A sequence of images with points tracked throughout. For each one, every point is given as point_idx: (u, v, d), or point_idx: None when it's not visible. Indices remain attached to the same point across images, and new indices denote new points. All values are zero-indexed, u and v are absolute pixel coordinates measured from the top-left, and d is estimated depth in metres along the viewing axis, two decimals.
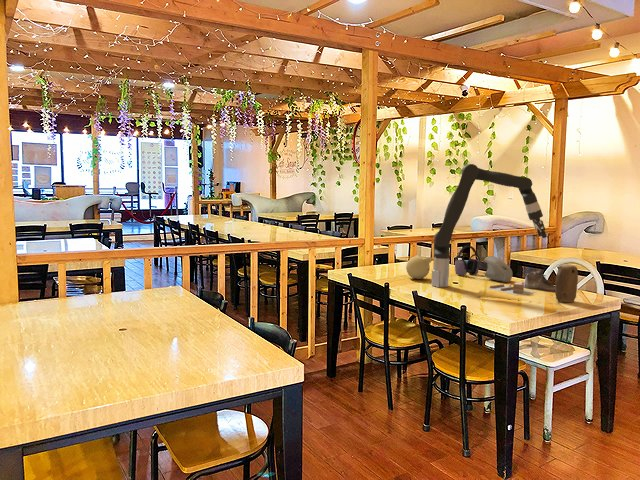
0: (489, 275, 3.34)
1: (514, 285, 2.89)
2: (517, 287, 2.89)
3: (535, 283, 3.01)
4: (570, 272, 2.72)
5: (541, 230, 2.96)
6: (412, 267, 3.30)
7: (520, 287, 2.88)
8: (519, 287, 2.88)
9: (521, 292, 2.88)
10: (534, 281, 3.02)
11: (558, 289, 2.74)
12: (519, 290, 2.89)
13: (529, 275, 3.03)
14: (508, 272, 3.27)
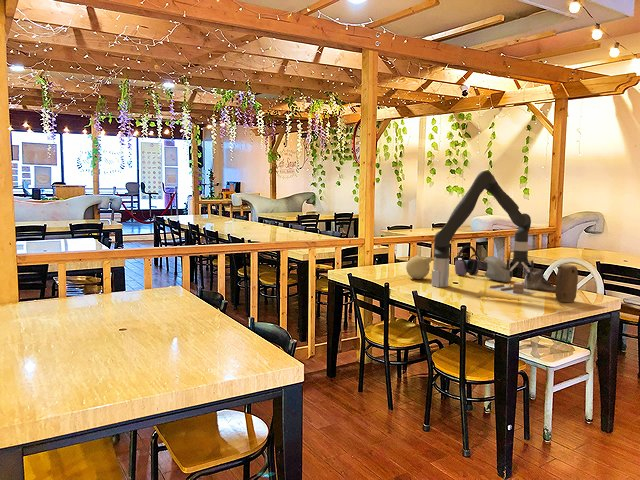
0: (489, 275, 3.34)
1: (514, 285, 2.89)
2: (517, 287, 2.89)
3: (535, 284, 3.00)
4: (570, 272, 2.72)
5: None
6: (412, 267, 3.30)
7: (520, 287, 2.88)
8: (519, 287, 2.88)
9: (521, 292, 2.88)
10: (534, 282, 3.01)
11: (558, 289, 2.74)
12: (519, 290, 2.89)
13: None
14: (508, 272, 3.27)
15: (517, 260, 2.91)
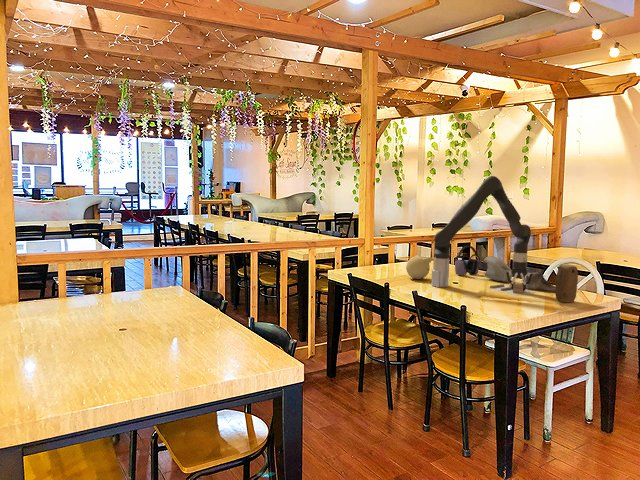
0: (489, 275, 3.34)
1: (514, 285, 2.89)
2: (517, 287, 2.89)
3: (535, 284, 2.99)
4: (570, 272, 2.72)
5: None
6: (412, 267, 3.30)
7: (520, 287, 2.88)
8: (519, 287, 2.88)
9: (521, 292, 2.88)
10: (533, 282, 3.00)
11: (558, 289, 2.74)
12: (519, 290, 2.89)
13: None
14: None
15: (516, 271, 2.91)
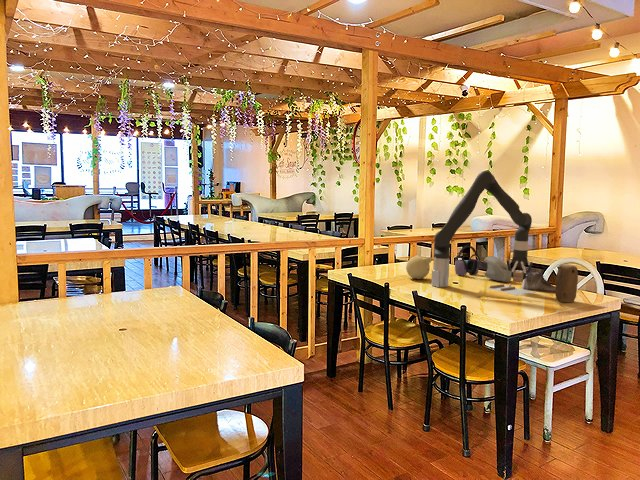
0: (489, 275, 3.34)
1: (514, 273, 2.88)
2: (517, 275, 2.88)
3: (535, 284, 2.98)
4: (570, 272, 2.72)
5: None
6: (412, 267, 3.30)
7: (520, 275, 2.87)
8: (519, 275, 2.87)
9: (521, 280, 2.87)
10: (533, 282, 2.99)
11: (558, 289, 2.74)
12: (519, 278, 2.88)
13: (528, 276, 3.00)
14: (508, 272, 3.27)
15: (516, 259, 2.90)
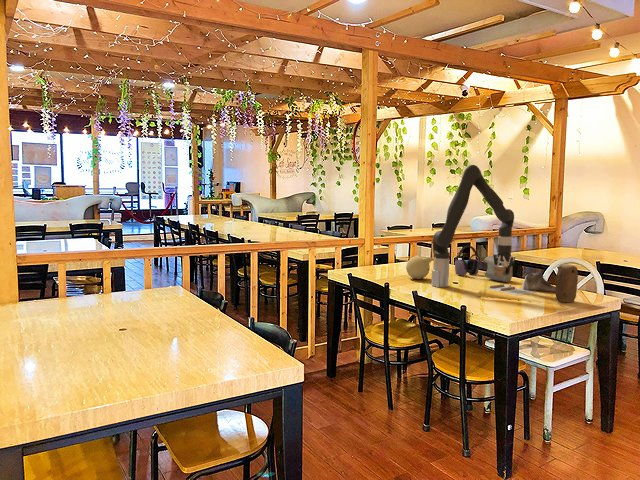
0: (489, 275, 3.34)
1: (495, 267, 3.01)
2: (497, 269, 3.00)
3: (535, 285, 2.97)
4: (570, 272, 2.72)
5: None
6: (412, 267, 3.30)
7: (500, 269, 2.98)
8: (499, 269, 2.99)
9: (500, 274, 2.98)
10: (534, 283, 2.98)
11: (558, 289, 2.74)
12: (499, 272, 2.99)
13: (528, 277, 2.98)
14: None
15: (500, 254, 3.01)
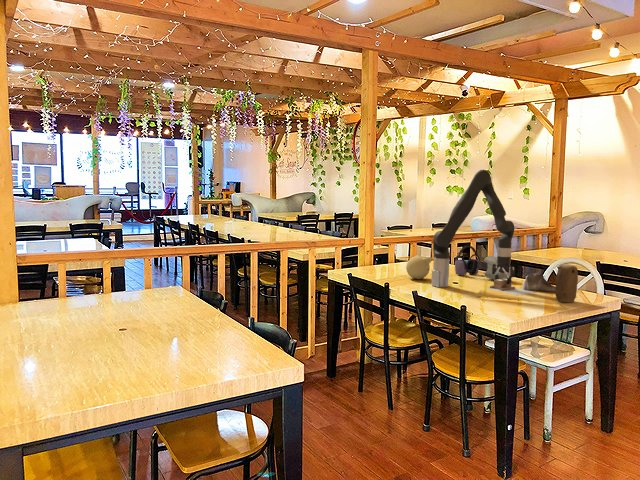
0: (489, 275, 3.34)
1: (494, 281, 3.01)
2: (496, 283, 3.00)
3: (535, 285, 2.97)
4: (570, 272, 2.72)
5: None
6: (412, 267, 3.30)
7: (499, 283, 2.99)
8: (498, 283, 2.99)
9: (499, 288, 2.99)
10: (534, 283, 2.98)
11: (558, 289, 2.74)
12: (498, 286, 2.99)
13: (529, 277, 2.98)
14: None
15: (500, 265, 3.02)
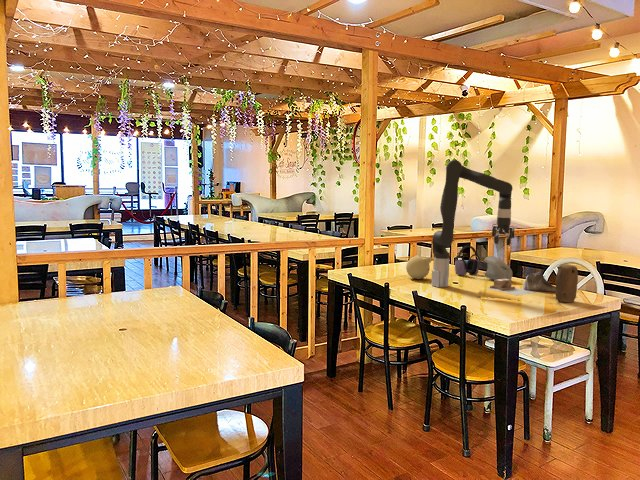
0: (489, 275, 3.34)
1: (494, 281, 3.01)
2: (496, 283, 3.00)
3: (536, 285, 2.97)
4: (570, 272, 2.72)
5: None
6: (412, 267, 3.30)
7: (499, 283, 2.99)
8: (498, 283, 2.99)
9: (499, 288, 2.99)
10: (534, 283, 2.97)
11: (558, 289, 2.74)
12: (498, 286, 2.99)
13: (529, 277, 2.98)
14: (508, 272, 3.27)
15: (500, 227, 3.05)
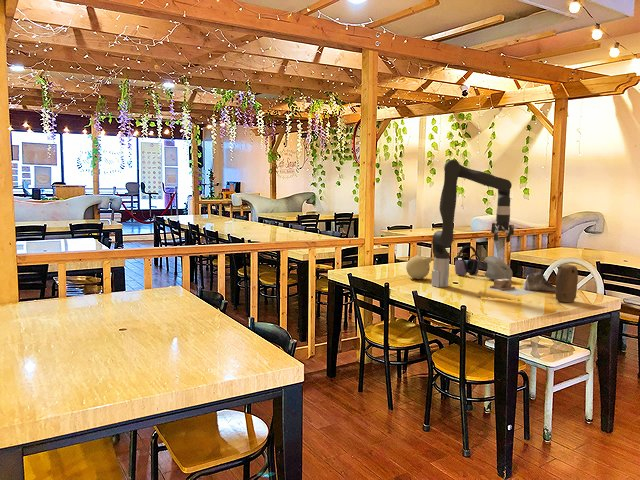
0: (489, 275, 3.34)
1: (494, 281, 3.01)
2: (496, 283, 3.00)
3: (536, 285, 2.96)
4: (570, 272, 2.72)
5: None
6: (412, 267, 3.30)
7: (499, 283, 2.99)
8: (498, 283, 2.99)
9: (499, 288, 2.99)
10: (535, 283, 2.97)
11: (558, 289, 2.74)
12: (498, 286, 2.99)
13: (530, 277, 2.98)
14: (508, 272, 3.27)
15: (499, 224, 3.06)
